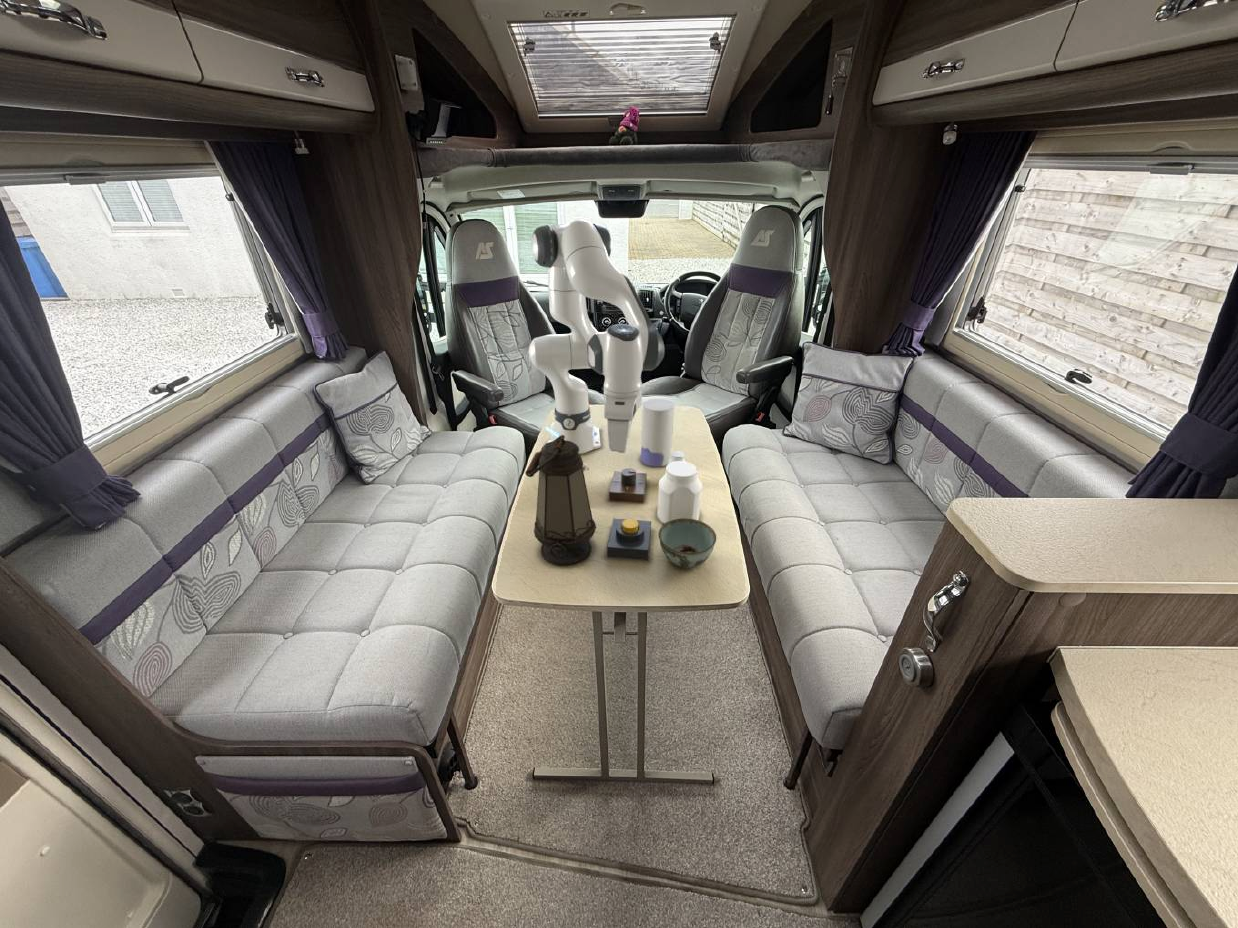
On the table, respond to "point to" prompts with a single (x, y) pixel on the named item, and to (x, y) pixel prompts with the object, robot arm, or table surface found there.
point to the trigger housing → (629, 541)
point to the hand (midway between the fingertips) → (622, 450)
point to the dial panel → (628, 489)
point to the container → (657, 432)
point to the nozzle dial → (628, 477)
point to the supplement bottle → (677, 456)
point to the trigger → (630, 526)
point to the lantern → (562, 504)
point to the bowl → (686, 542)
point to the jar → (679, 492)
